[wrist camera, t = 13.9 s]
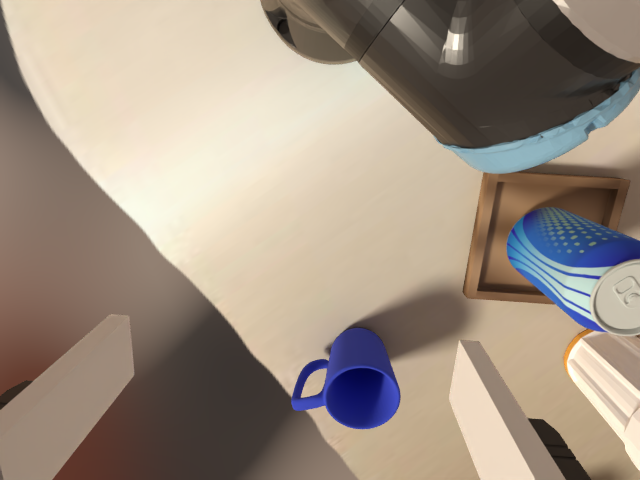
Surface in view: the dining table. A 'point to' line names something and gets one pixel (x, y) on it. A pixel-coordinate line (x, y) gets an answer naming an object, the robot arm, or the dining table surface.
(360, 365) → the mug
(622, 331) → the beer can
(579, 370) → the cup
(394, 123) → the dining table surface
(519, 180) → the tray
